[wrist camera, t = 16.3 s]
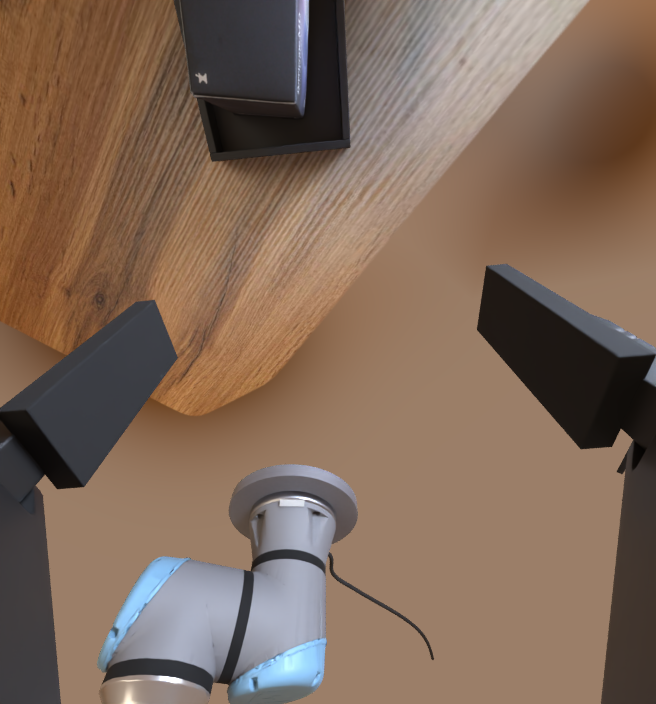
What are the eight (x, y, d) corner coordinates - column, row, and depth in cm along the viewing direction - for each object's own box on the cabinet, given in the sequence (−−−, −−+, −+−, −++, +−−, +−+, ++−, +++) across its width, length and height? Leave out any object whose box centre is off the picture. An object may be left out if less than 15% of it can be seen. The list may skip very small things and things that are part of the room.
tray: (348, 147, 29) (350, 147, 27) (219, 160, 30) (211, 161, 28) (336, -130, 21) (337, -160, 19) (159, -105, 22) (141, -132, 20)
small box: (309, 121, 28) (300, 109, 19) (231, 115, 28) (186, 101, 19) (314, -70, 22) (305, -214, 13) (216, -79, 22) (141, -232, 13)
